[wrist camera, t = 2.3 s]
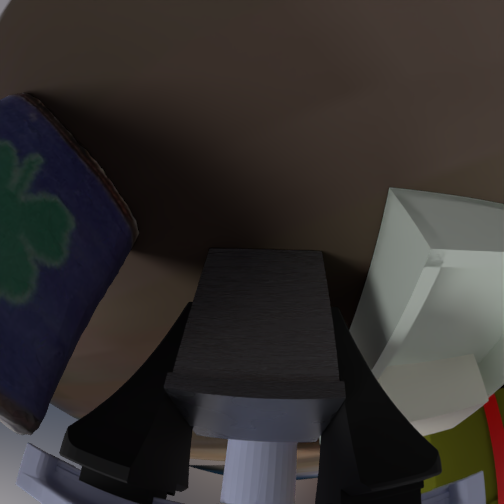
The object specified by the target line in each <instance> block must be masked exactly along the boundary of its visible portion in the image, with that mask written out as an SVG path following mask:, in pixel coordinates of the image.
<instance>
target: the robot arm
mask: <svg viewBox="0 0 504 504" xmlns="http://www.w3.org/2000/svg"><path fill="white" fill-rule="evenodd" d="M192 303H193V302H189V303H188V304H187V305H186V307H185V308H184V310H183V311H182V313H181V314H180V316H179V317H178V319H177V320H176V322H175V323H174V325H173V326H172V328H171V329H170V331H169V332H168V333H167V335H166V336H165V337H164V339H163V340H162V341H161V343H160V344H159V345H158V347H157V348H156V349H155V350H154V352H153V353H152V354H151V355H150V357H149V358H148V359H147V360H146V361H145V363H144V364H143V365H142V366H141V367H140V368H139V369H138V370H137V372H136V373H135V374H134V375H133V376H132V377H131V378H130V379H129V380H128V381H127V382H126V383H125V384H124V385H123V386H122V387H120V388H119V389H118V390H117V391H116V392H115V393H114V394H113V395H112V396H110V397H109V398H108V399H107V400H106V401H104V402H103V403H102V404H100V405H99V406H98V407H97V408H95V409H94V410H93V411H91V412H90V413H89V414H87V415H86V416H84V417H82V418H81V419H79V420H78V421H76V422H75V423H73V424H72V425H70V426H69V427H68V428H67V431H66V433H65V436H64V439H63V442H62V446H61V449H60V452H59V453H60V455H61V456H63V457H65V458H67V459H69V460H71V461H73V462H75V463H77V464H79V465H81V466H82V469H81V470H80V469H78V468H76V467H75V466H73V465H71V464H69V463H67V462H65V461H63V460H61V459H59V458H57V457H55V456H53V455H51V454H48V453H46V452H45V451H43V450H41V449H40V448H38V447H36V446H34V445H32V444H31V443H27V446H26V449H25V452H24V455H23V458H22V462H21V465H20V469H19V473H18V477H17V481H16V485H17V486H18V487H20V488H21V489H23V490H24V491H25V492H27V493H28V494H29V495H31V496H32V497H33V498H35V499H36V500H37V501H39V502H40V503H42V504H183V503H179V502H174V501H170V500H166V497H167V494H168V495H172V496H174V495H175V491H180V492H182V491H184V490H186V489H187V488H188V476H189V459H190V447H191V438H192V428H191V426H190V425H189V424H188V422H187V421H186V420H185V418H184V417H183V416H182V414H181V413H180V411H179V410H178V408H177V407H176V406H175V404H174V403H173V401H172V400H171V398H170V397H169V395H168V394H167V392H166V391H165V389H164V388H163V387H164V384H165V380H166V376H167V373H168V372H173V369H174V366H175V362H176V358H177V355H178V351H179V348H180V344H181V341H182V337H183V334H184V330H185V327H186V323H187V320H188V316H189V313H190V310H191V306H192ZM331 313H332V320H333V327H334V335H335V343H336V352H337V361H338V370H339V381H344V383H345V393H346V399H345V400H344V402H343V403H342V405H341V406H340V408H339V409H338V411H337V413H336V414H335V416H334V417H333V419H332V420H331V421H330V423H329V424H328V426H327V427H326V429H325V430H324V432H323V433H322V434H321V442H320V461H319V473H318V483H317V492H316V501H315V504H486V495H485V483H484V474H483V471H480V472H477V473H475V474H472V475H470V476H468V477H466V478H463V479H461V480H457V481H454V482H451V483H449V484H446V485H443V486H440V487H438V488H435V489H432V490H431V491H428V492H425V493H422V494H421V489H422V488H424V480H426V479H429V478H432V477H434V476H437V475H439V474H441V472H442V466H441V459H440V455H439V452H438V450H437V449H436V448H435V447H434V446H433V445H432V444H431V443H430V442H428V441H427V440H426V439H425V438H424V437H423V436H422V435H421V434H420V433H419V432H418V431H417V430H416V429H415V428H414V427H413V425H412V424H411V423H410V422H409V421H408V420H407V419H406V417H405V416H404V415H403V414H402V413H401V412H400V410H399V409H398V408H397V407H396V406H395V404H394V403H393V402H392V400H391V399H390V398H389V396H388V395H387V394H386V392H385V391H384V390H383V388H382V387H381V385H380V384H379V382H378V381H377V379H376V378H375V376H374V375H373V373H372V371H371V370H370V368H369V366H368V365H367V363H366V361H365V360H364V358H363V356H362V354H361V352H360V350H359V349H358V347H357V345H356V343H355V341H354V339H353V337H352V335H351V333H350V331H349V329H348V327H347V325H346V323H345V321H344V318H343V316H342V314H341V311H340V309H339V308H338V307H331ZM297 444H298V442H261V441H245V440H233V439H228V446H227V454H226V461H225V469H224V477H223V484H222V492H221V500H220V502H221V503H228V504H295V486H296V485H295V484H296V462H297Z"/></svg>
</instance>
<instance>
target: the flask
mask: <svg viewBox="0 0 504 504" xmlns="http://www.w3.org/2000/svg"><path fill="white" fill-rule="evenodd" d="M138 234H139V231H138V228H137V223H136V220H135V218H134V217H133V216H132V213H131V210H130V209H129V207H128V205H127V203H126V202H124V199H123V198H122V197H121V196H120V194H119V193H118V191H117V190H116V188H115V187H114V184H113V183H112V181H110V179H107V176H106V175H105V173H104V170H103V169H102V168H101V167H100V165H99V164H98V162H97V161H95V160H94V159H93V158H92V157H91V156H90V155H89V152H88V151H87V150H85V148H84V147H82V146H80V145H79V144H78V143H77V141H76V140H75V138H74V137H73V135H72V134H71V133H70V132H69V131H68V130H66V128H65V127H64V126H63V125H62V124H61V122H60V121H59V120H57V119H56V117H54V115H53V114H52V112H49V109H47V108H46V107H45V105H43V103H42V102H41V101H40V100H37V98H35V97H32V96H31V95H30V94H28V93H27V94H25V93H21V94H13V95H9V96H7V97H5V98H3V99H1V100H0V422H1V423H3V424H4V425H5V426H7V427H8V428H10V429H11V430H12V431H14V432H15V433H17V434H21V435H24V434H28V435H32V434H33V432H34V431H35V430H37V429H38V428H39V426H40V424H41V422H42V420H43V419H44V417H45V415H46V412H47V409H48V406H49V403H50V401H51V398H52V396H53V394H54V392H55V390H56V388H57V385H58V383H59V381H60V379H61V377H62V375H63V373H64V370H65V368H66V366H67V364H68V361H69V359H70V358H71V356H72V354H73V351H74V349H75V347H76V345H77V343H78V341H79V339H80V337H81V335H82V333H83V332H84V330H85V328H86V327H87V325H88V323H89V321H90V319H91V317H92V315H93V313H94V311H95V309H96V307H97V306H98V304H99V302H100V301H101V300H102V298H103V297H104V295H105V293H106V291H107V289H108V288H109V286H110V285H111V283H112V282H113V280H114V278H115V277H116V275H117V274H118V272H119V270H120V268H121V266H122V265H123V263H124V261H125V259H126V257H127V255H128V254H129V252H130V250H131V249H132V247H133V245H134V242H135V241H136V239H137V236H138Z"/></svg>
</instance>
